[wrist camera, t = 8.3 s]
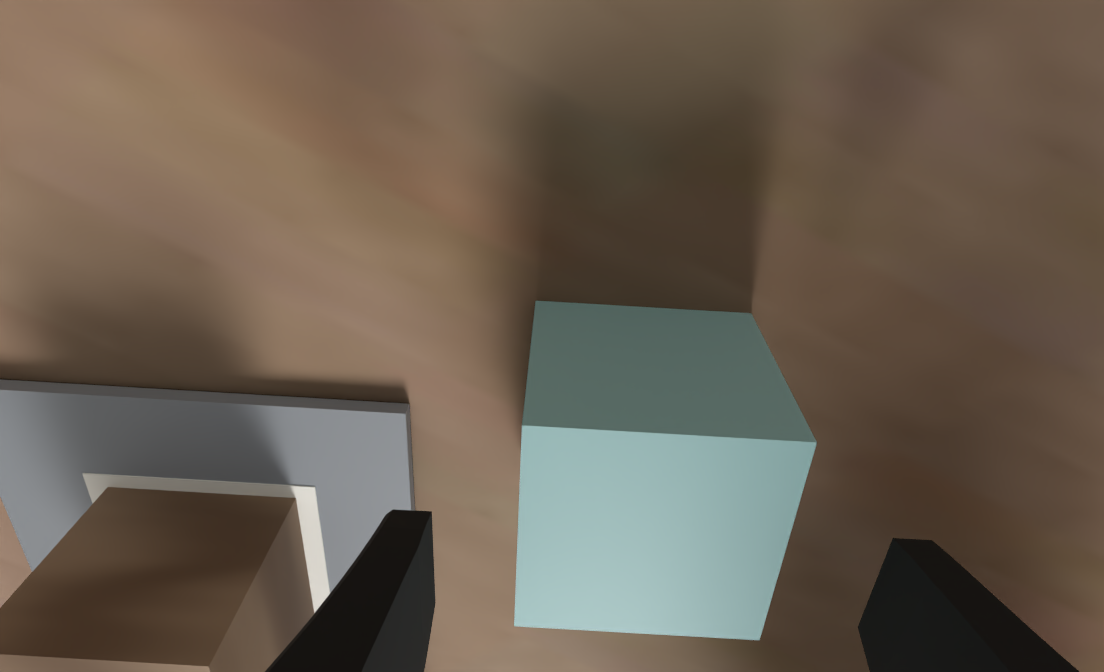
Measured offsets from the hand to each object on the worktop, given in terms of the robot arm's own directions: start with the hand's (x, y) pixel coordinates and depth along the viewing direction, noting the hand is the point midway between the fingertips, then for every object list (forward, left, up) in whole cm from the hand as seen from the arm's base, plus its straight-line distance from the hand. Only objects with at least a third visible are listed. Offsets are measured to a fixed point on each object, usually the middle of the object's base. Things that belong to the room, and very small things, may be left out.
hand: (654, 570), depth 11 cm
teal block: (0, 0, -5) cm, 5 cm away
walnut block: (+10, +5, -5) cm, 12 cm away
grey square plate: (+10, +6, -5) cm, 13 cm away
